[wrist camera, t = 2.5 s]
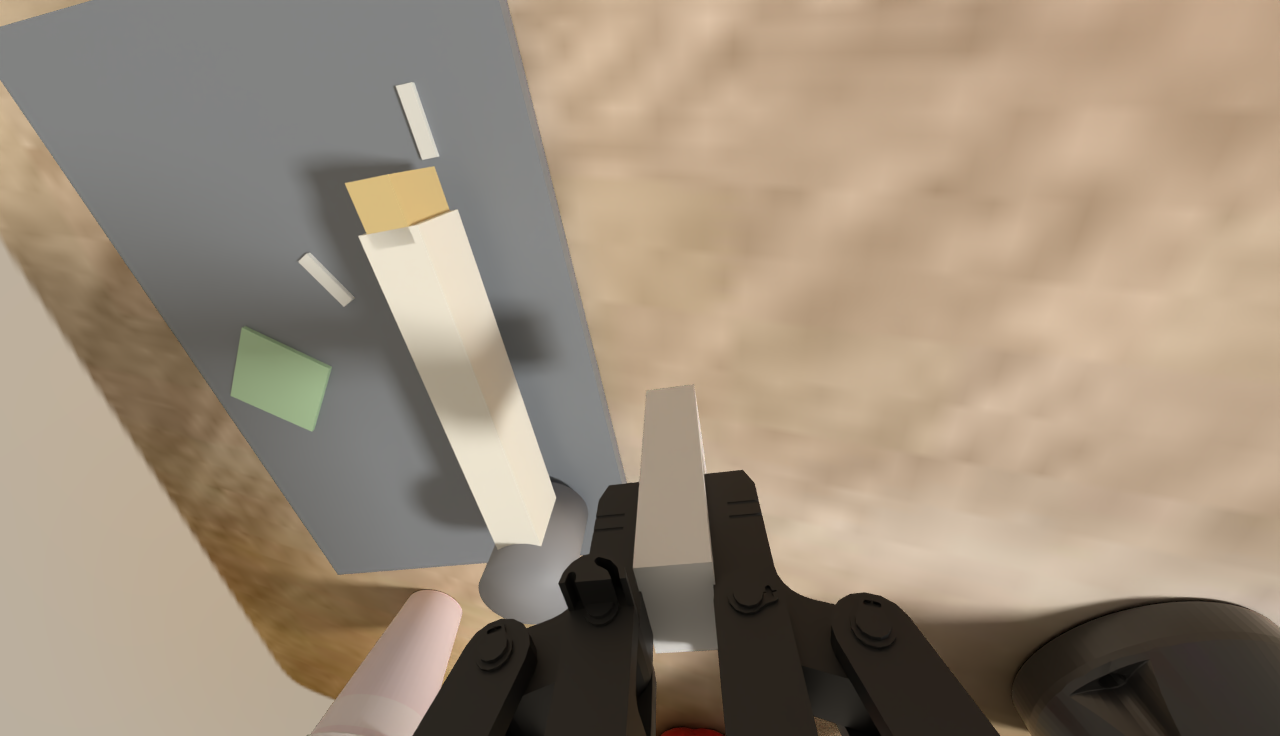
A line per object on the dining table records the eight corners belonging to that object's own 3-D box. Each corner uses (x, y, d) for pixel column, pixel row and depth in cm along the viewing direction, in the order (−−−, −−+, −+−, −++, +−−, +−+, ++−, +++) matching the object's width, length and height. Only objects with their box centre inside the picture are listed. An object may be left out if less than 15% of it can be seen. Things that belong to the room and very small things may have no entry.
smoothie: (467, 574, 30) (322, 895, 17) (492, 637, 33) (383, 950, 20) (373, 576, 30) (168, 886, 18) (406, 638, 33) (248, 941, 21)
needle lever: (595, 534, 25) (579, 621, 21) (525, 540, 26) (495, 626, 22) (480, 157, 17) (412, 168, 13) (379, 177, 17) (280, 195, 13)
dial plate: (640, 536, 27) (638, 553, 26) (347, 561, 30) (336, 577, 29) (483, -96, 15) (468, -112, 14) (5, 40, 17) (-38, 34, 16)
